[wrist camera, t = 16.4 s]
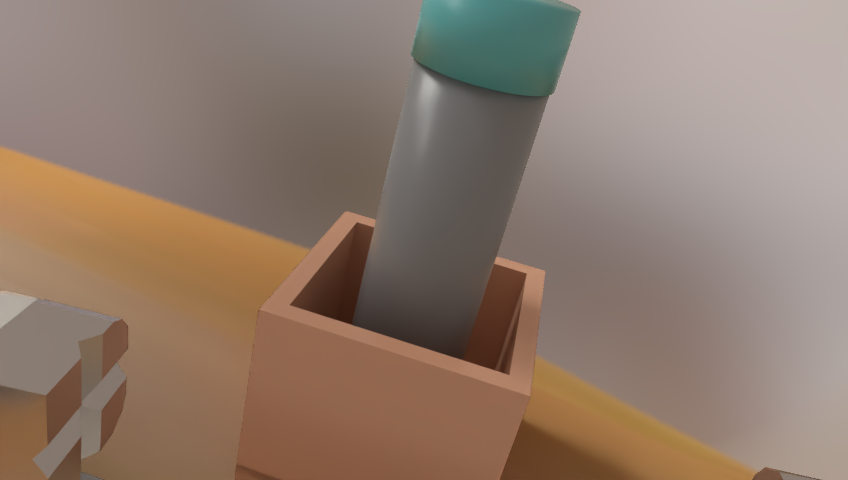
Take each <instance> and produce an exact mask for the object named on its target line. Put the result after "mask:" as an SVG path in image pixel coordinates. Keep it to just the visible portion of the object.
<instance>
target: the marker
mask: <svg viewBox="0 0 848 480" xmlns="http://www.w3.org/2000/svg"><path fill="white" fill-rule="evenodd" d="M580 13H581V11H580V10H579V9H577V8H575V7H573V6H571V5H569V4H566V3H564V2H561V1H558V0H423V2H422V7H421V11H420V16H419V20H418V24H417V29H416V33H415V38H414V41H413V46H412V50H411V55H412V57H413V58H414V59H413V63H412V67H411V72H410V77H409V81H408V85H407V89H406V93H405V98H404V102H403V107H402V111H401V115H400V119H399V123H398V128H397V132H396V136H395V141H394V145H393V149H392V154H391V158H390V162H389V166H388V171H387V175H386V179H385V184H384V188H383V192H382V197H381V201H380V206H379V210H378V214H377V218H376V222H375V227H374V231H373V235H372V240H371V244H370V248H369V252H368V257H367V261H366V265H365V270H364V274H363V278H362V283H361V287H360V291H359V296H358V300H357V304H356V308H355V313H354V317H353V321H352V325H353V326H357V327H360V328H363V329H366V330H369V331H372V332H375V333H379V334H382V335H385V336H388V337H391V338H394V339H397V340H401V341H404V342H407V343H410V344H413V345H416V346H419V347H423V348H426V349H429V350H432V351H435V352H438V353H441V354H445V355H448V356H451V357H454V358H457V359H460V360H463V358H464V355H465V352H466V348H467V345H468V342H469V339H470V336H471V333H472V330H473V327H474V324H475V321H476V318H477V315H478V312H479V309H480V306H481V303H482V299H483V296H484V293H485V290H486V287H487V284H488V281H489V278H490V275H491V272H492V269H493V266H494V263H495V260H496V257H497V253H498V250H499V247H500V244H501V241H502V238H503V235H504V232H505V229H506V226H507V223H508V219H509V217H510V214H511V211H512V208H513V204H514V201H515V198H516V195H517V192H518V189H519V186H520V183H521V180H522V176H523V174H524V171H525V168H526V165H527V162H528V159H529V155H530V152H531V149H532V146H533V143H534V140H535V137H536V134H537V131H538V128H539V125H540V122H541V119H542V116H543V112H544V109H545V106H546V103H547V100H548V97H549V95H551V94H553V93H554V91H555V89H556V86H557V83H558V79H559V76H560V73H561V70H562V67H563V64H564V61H565V58H566V55H567V52H568V49H569V46H570V43H571V40H572V37H573V34H574V31H575V28H576V25H577V21H578V18H579V16H580Z"/></svg>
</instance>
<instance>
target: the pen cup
mask: <svg viewBox="0 0 848 480" xmlns="http://www.w3.org/2000/svg"><path fill="white" fill-rule="evenodd" d="M375 222H376V220H374V219H371V218H368V217H364V216H361V215H358V214H354V213H351V212H348V211H345V212H344V214H343V215H342V216H341V217H340V218H339V219H338V220H337V222H336V223H335V224H334V225H333V226H332V227H331V228H330V230H329V231H328V232H327V233H326V234H325V235H324V236H323V237H322V239H321V240H320V241H319V242H318V243H317V244H316V245H315V246H314V247H313V249H312V250H311V251H310V252H309V253H308V254H307V255H306V256H305V258H304V259H303V260H302V261H301V262H300V263H299V264H298V265H297V267H296V268H295V269H294V270H293V271H292V272H291V273H290V275H289V276H288V277H287V278H286V279H285V280H284V281H283V282H282V284H281V285H280V286H279V287H278V288H277V289H276V290H275V291H274V293H273V294H272V295H271V296H270V297H269V298H268V299H267V300H266V302H265V303H264V304H263V305H262V306H261V307H260V308H259V311H258V318H257V325H256V332H255V339H254V346H253V353H252V360H251V367H250V374H249V381H248V388H247V395H246V402H245V409H244V416H243V423H242V430H241V437H240V444H239V451H238V458H237V465H236V473H235V480H500V478H501V475H502V472H503V470H504V467H505V464H506V461H507V459H508V456H509V453H510V451H511V448H512V445H513V443H514V440H515V437H516V434H517V432H518V429H519V426H520V424H521V421H522V418H523V416H524V413H525V410H526V407H527V405H528V402H529V399H530V397H531V389H532V380H533V371H534V363H535V354H536V345H537V337H538V328H539V319H540V311H541V303H542V294H543V286H544V277H545V271H543V270H540V269H536V268H533V267H530V266H526V265H523V264H520V263H517V262H513V261H510V260H507V259H503V258H500V257H496V260H495V263H494V266H493V269H492V272H491V275H490V278H489V281H488V284H487V287H486V290H485V293H484V296H483V299H482V303H481V306H480V309H479V312H478V315H477V318H476V321H475V324H474V327H473V330H472V333H471V336H470V339H469V342H468V345H467V348H466V352H465V355H464V358H463V360H460V359H457V358H454V357H451V356H448V355H445V354H441V353H438V352H435V351H432V350H429V349H426V348H423V347H419V346H416V345H413V344H410V343H407V342H404V341H401V340H397V339H394V338H391V337H388V336H385V335H382V334H379V333H375V332H372V331H369V330H366V329H363V328H360V327H357V326H353V325H352V321H353V317H354V313H355V308H356V304H357V300H358V296H359V291H360V287H361V283H362V278H363V274H364V270H365V265H366V261H367V257H368V252H369V248H370V244H371V240H372V235H373V231H374V227H375Z"/></svg>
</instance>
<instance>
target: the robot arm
mask: <svg viewBox="0 0 848 480" xmlns="http://www.w3.org/2000/svg"><path fill="white" fill-rule="evenodd" d="M127 349H128V326H127V324H126V323H125V322H124V321H123V319H120V318H116V317H112V316H108V315H104V314H100V313H96V312H92V311H88V310H84V309H80V308H76V307H72V306H69V305H65V304H61V303H57V302H53V301H49V300H41V299H39V298H36V297H31V296H27V295H23V294H19V293H14V292H10V291H6V290H3V291H0V480H80V479H81V460H82V459H84V458H86V457H89V456H91V455H93V454H95V453H97V452H99V451H101V449H102V448H103V446H104V445H105V443H106V442H107V440H108V439H109V437H110V436H111V435H112V433H113V430H114V428H115V426H116V423H117V421H118V419H119V416H120V414H121V412H122V408H123V403H124V399H125V394H126V379H127V377H126V376H125V374H124V373H123V371H122V370H121V368H120V367H119V365H118V364H117V361H118V360H119V359H120V357H121V356H122V355H123V354H124V352H125V351H126V350H127ZM752 480H820V479H816V478H811V477H807V476H802V475H798V474H794V473H789V472H785V471H780V470H776V469H771V468H767V467H765V468H764V469H763V470H761V471H760V472H758V473H757V474H756V475H755V476H754V478H753V479H752Z"/></svg>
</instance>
